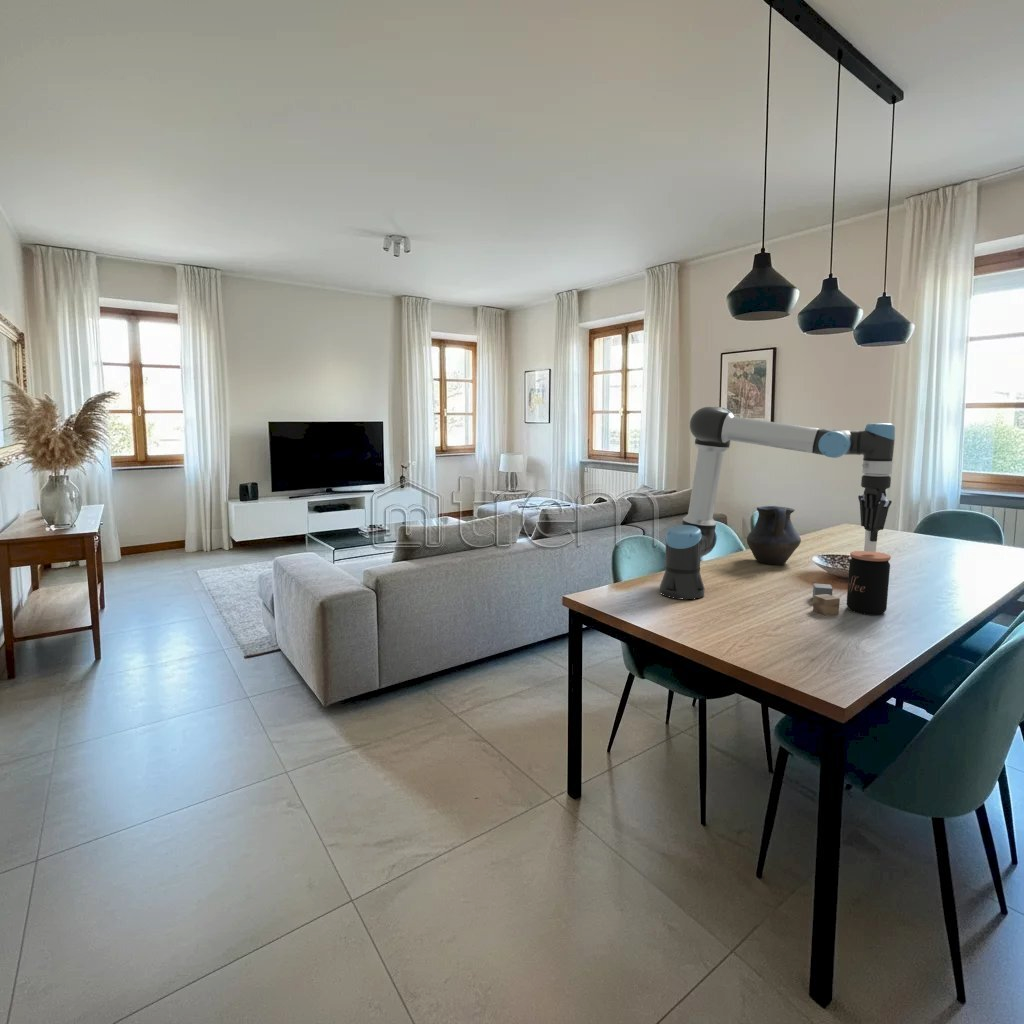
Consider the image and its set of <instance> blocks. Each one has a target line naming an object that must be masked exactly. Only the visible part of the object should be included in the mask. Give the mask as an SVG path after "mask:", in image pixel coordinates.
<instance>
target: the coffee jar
mask: <svg viewBox="0 0 1024 1024" xmlns="http://www.w3.org/2000/svg"><path fill="white" fill-rule="evenodd" d="M849 555H850V557H851V559H850V560H849V565H848V566H849V567H848V579H847V594H846V606H847V609H849V611H851V612H853V613H855V614H859V615H865V616H882V615H884V614H885V612H886V611H887V607H888V595H889V594H888V593H889V583H890V582H889V581H890V571H891V564H890V562H889V561H890V560H891V558H892V557H891V555H889V554H887V553H884V552H881V551H876V552H867V551H864V550H853V551H851V552H850V554H849Z"/></svg>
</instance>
